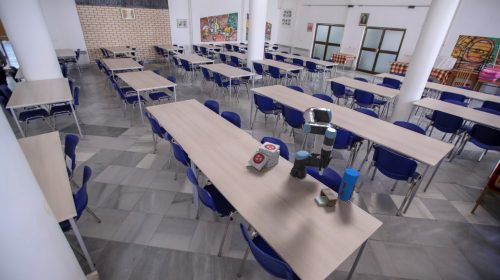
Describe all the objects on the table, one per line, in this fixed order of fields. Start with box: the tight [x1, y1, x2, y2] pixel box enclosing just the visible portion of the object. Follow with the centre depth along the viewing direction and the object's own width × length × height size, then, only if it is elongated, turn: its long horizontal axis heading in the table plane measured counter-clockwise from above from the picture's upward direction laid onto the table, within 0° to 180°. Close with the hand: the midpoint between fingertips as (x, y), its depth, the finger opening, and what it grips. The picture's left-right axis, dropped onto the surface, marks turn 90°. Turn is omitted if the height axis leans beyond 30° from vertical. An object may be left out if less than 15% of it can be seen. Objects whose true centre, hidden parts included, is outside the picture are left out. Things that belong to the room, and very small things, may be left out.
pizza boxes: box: [247, 141, 281, 172], centre depth 231 cm, size 19×30×18 cm, turn 131°
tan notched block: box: [319, 187, 338, 207], centre depth 192 cm, size 13×7×7 cm, turn 14°
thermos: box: [337, 167, 360, 202], centre depth 193 cm, size 11×11×25 cm
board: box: [314, 195, 328, 206], centre depth 192 cm, size 8×11×2 cm
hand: (320, 174), depth 186 cm, fingers closed
